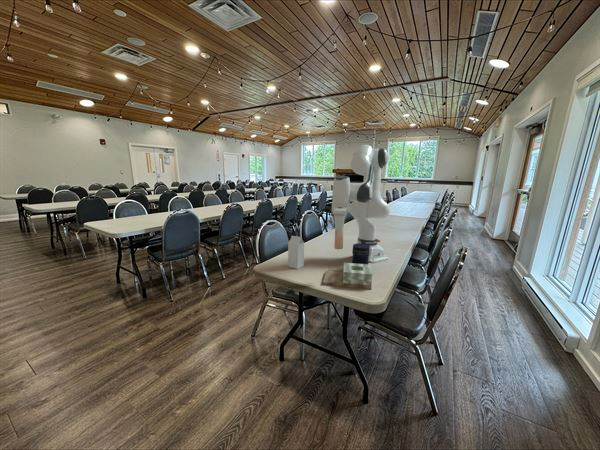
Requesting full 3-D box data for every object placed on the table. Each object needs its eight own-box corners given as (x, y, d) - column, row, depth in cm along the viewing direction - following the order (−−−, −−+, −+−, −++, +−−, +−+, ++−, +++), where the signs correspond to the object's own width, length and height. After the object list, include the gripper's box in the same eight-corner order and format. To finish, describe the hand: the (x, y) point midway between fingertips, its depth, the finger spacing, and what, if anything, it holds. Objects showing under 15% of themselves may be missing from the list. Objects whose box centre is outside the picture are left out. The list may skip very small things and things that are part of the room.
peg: (340, 246, 134) (341, 220, 131) (344, 248, 130) (345, 222, 127) (332, 247, 132) (333, 221, 129) (337, 249, 128) (338, 223, 125)
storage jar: (348, 267, 152) (349, 243, 149) (362, 266, 155) (364, 242, 152) (356, 273, 143) (358, 248, 140) (371, 272, 146) (373, 247, 143)
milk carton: (297, 269, 148) (298, 238, 144) (288, 266, 152) (288, 236, 148) (303, 265, 154) (304, 236, 150) (294, 263, 158) (294, 234, 154)
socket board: (368, 276, 139) (369, 264, 137) (371, 289, 123) (372, 275, 122) (325, 273, 143) (326, 260, 142) (323, 284, 128) (323, 270, 126)
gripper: (335, 205, 137) (334, 230, 140) (332, 211, 117) (331, 239, 120) (347, 206, 136) (345, 230, 139) (346, 211, 116) (344, 240, 119)
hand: (339, 234), depth 129 cm, fingers closed on peg, 4 cm apart
